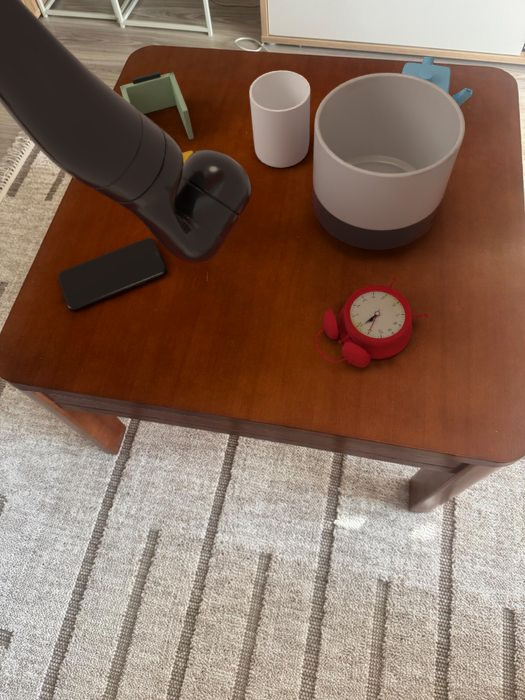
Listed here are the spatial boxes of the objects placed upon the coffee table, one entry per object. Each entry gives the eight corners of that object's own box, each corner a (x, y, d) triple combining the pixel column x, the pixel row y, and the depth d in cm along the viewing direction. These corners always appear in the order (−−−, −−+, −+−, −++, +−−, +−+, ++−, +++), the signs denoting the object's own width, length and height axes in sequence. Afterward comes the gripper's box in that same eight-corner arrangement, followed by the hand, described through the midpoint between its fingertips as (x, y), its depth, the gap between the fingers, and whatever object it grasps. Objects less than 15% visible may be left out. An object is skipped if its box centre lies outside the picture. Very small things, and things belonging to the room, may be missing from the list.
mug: (247, 164, 91) (241, 106, 80) (267, 117, 96) (264, 56, 85) (301, 174, 89) (301, 115, 78) (318, 125, 94) (320, 64, 83)
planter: (311, 262, 81) (314, 177, 65) (311, 169, 89) (314, 73, 73) (440, 262, 79) (475, 175, 63) (427, 167, 88) (456, 69, 72)
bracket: (194, 138, 94) (186, 105, 88) (141, 153, 93) (130, 121, 87) (180, 101, 99) (172, 67, 93) (129, 114, 98) (118, 82, 92)
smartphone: (70, 314, 79) (169, 275, 81) (68, 311, 78) (168, 271, 80) (58, 275, 82) (153, 238, 84) (55, 272, 82) (152, 234, 84)
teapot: (386, 88, 97) (395, 34, 88) (464, 97, 95) (482, 43, 86) (369, 158, 90) (377, 107, 81) (453, 170, 87) (471, 119, 78)
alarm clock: (439, 319, 71) (353, 362, 65) (421, 344, 76) (340, 387, 70) (390, 266, 75) (306, 303, 69) (377, 294, 80) (297, 330, 74)
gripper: (237, 159, 65) (224, 166, 82) (134, 188, 64) (141, 189, 81) (253, 219, 68) (237, 214, 84) (153, 248, 67) (157, 237, 83)
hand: (190, 202), depth 82 cm, fingers closed
